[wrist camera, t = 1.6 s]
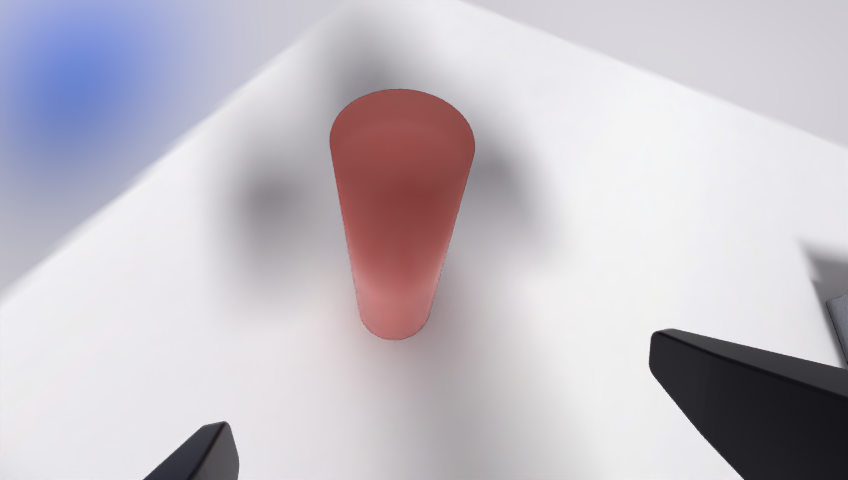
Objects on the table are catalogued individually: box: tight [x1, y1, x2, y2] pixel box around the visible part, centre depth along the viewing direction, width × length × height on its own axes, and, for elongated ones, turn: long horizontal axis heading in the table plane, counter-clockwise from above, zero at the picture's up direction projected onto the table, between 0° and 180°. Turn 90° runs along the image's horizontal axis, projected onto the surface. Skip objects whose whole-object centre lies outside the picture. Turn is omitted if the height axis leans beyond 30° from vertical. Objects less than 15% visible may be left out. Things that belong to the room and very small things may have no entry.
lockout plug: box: [330, 89, 475, 340], centre depth 17 cm, size 4×4×13 cm
